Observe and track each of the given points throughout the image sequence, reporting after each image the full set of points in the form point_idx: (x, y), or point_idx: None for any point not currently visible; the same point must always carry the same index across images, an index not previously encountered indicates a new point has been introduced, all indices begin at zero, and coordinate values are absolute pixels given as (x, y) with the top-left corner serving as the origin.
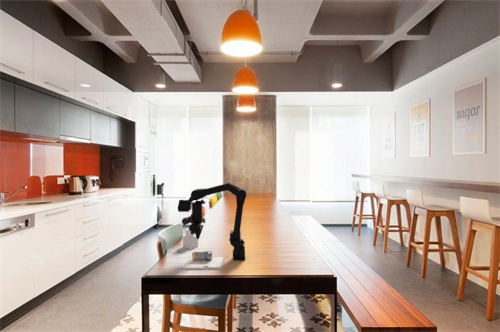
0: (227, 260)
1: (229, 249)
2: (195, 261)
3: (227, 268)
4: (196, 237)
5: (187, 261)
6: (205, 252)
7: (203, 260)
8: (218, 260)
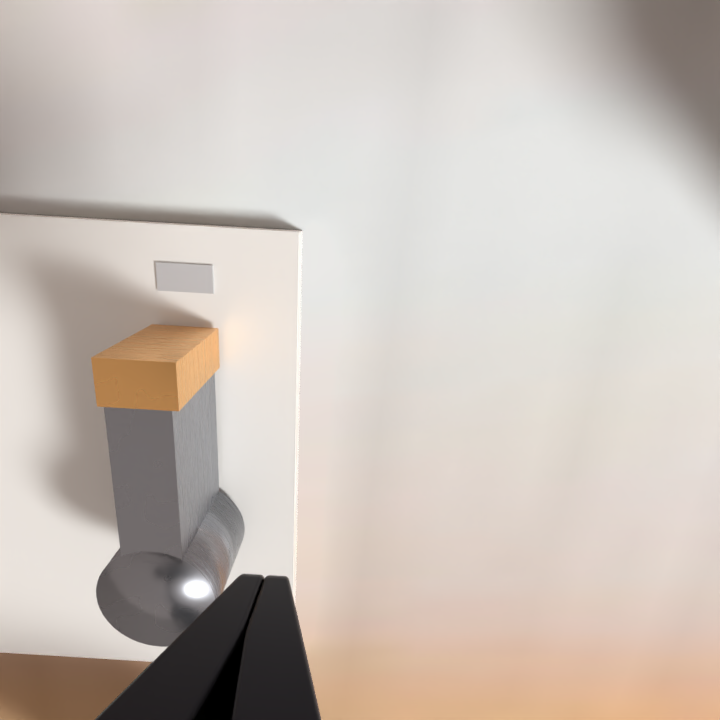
0: None
1: (606, 706)
2: None
3: (32, 681)
4: (204, 612)
5: (139, 247)
6: (146, 564)
7: None
8: None
